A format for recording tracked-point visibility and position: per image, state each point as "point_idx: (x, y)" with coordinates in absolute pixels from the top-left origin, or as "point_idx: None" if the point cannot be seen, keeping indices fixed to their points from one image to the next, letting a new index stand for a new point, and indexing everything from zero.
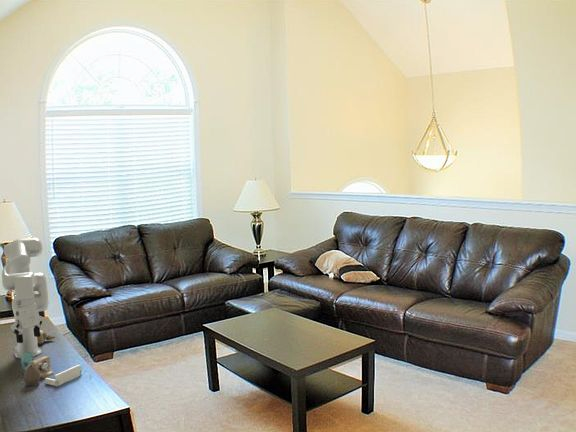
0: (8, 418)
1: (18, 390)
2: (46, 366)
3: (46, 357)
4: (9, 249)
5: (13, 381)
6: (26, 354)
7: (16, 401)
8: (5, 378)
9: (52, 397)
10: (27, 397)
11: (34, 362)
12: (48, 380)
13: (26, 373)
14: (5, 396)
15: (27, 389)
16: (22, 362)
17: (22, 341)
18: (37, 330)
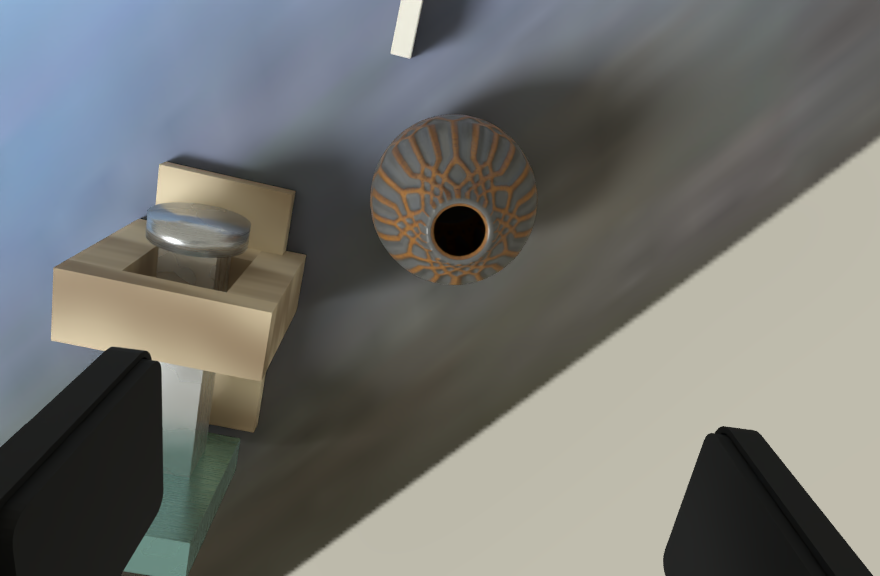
0: None
1: (593, 221)
2: (188, 216)
3: (80, 293)
4: None
5: (418, 400)
6: (147, 534)
7: (833, 58)
8: (375, 502)
9: None
10: (744, 10)
11: (267, 325)
12: (421, 6)
13: (526, 226)
14: (723, 244)
15: (564, 150)
16: (214, 505)
17: (756, 444)
18: (60, 510)
